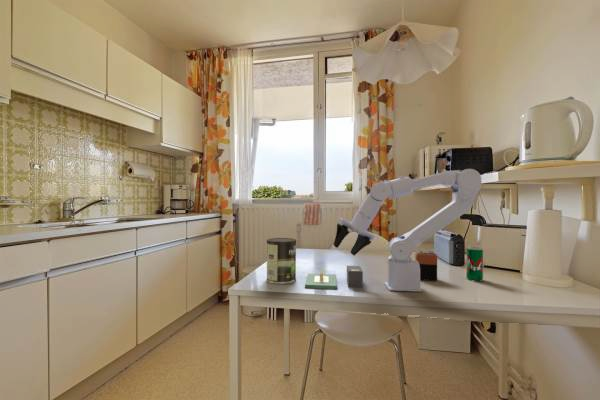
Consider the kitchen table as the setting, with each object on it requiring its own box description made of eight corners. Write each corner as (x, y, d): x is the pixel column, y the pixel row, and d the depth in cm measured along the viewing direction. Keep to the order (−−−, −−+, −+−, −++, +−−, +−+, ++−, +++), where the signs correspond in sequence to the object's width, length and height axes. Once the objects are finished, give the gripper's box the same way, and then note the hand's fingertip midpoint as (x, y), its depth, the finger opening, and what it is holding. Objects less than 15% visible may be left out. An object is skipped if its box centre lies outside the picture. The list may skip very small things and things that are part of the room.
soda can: (482, 278, 103) (482, 245, 103) (484, 282, 98) (484, 247, 98) (465, 277, 105) (466, 244, 105) (467, 280, 100) (467, 246, 101)
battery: (437, 281, 99) (437, 252, 99) (416, 279, 101) (416, 251, 101) (435, 278, 104) (435, 250, 104) (414, 276, 105) (415, 249, 105)
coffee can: (299, 277, 103) (299, 238, 103) (291, 285, 93) (291, 242, 93) (272, 275, 106) (272, 237, 106) (261, 282, 96) (261, 240, 96)
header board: (335, 277, 104) (335, 267, 104) (336, 289, 90) (336, 277, 90) (308, 276, 105) (308, 266, 105) (305, 287, 91) (305, 276, 91)
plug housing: (360, 280, 100) (360, 265, 100) (362, 287, 92) (362, 271, 92) (346, 279, 100) (346, 265, 100) (348, 286, 92) (348, 270, 92)
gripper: (374, 219, 101) (354, 252, 103) (343, 202, 95) (322, 237, 97) (385, 227, 95) (364, 261, 96) (353, 209, 89) (330, 246, 90)
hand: (343, 250), depth 96 cm, fingers open, 7 cm apart
